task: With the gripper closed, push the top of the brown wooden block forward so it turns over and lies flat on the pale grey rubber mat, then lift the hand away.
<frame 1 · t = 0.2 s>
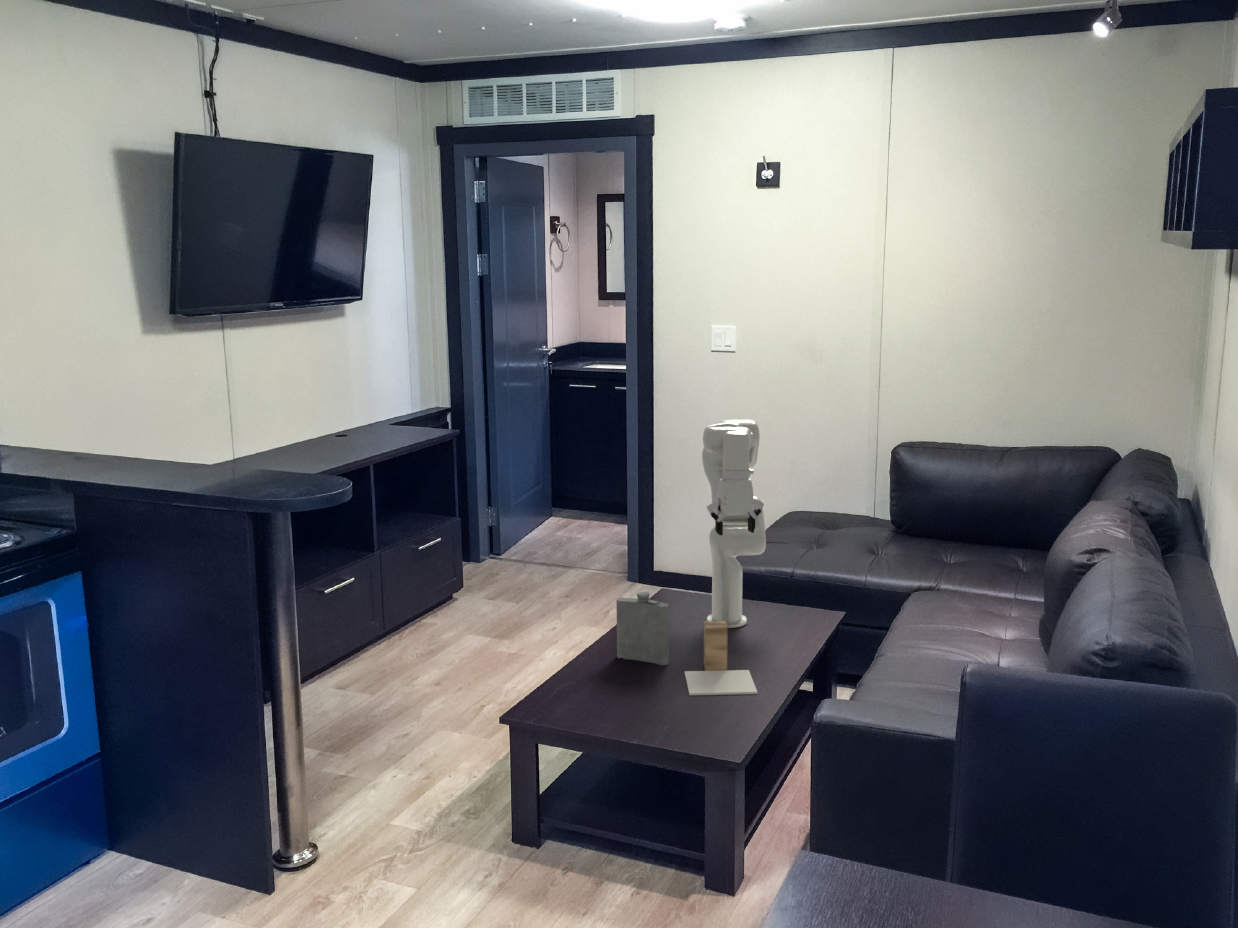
hand: (735, 533, 304), 36 cm above the table, tool pointing down, fingers open, 9 cm apart
mat: (720, 683, 287), on the table
hip flask: (643, 659, 305), on the table
brown wooden block: (715, 667, 298), on the table
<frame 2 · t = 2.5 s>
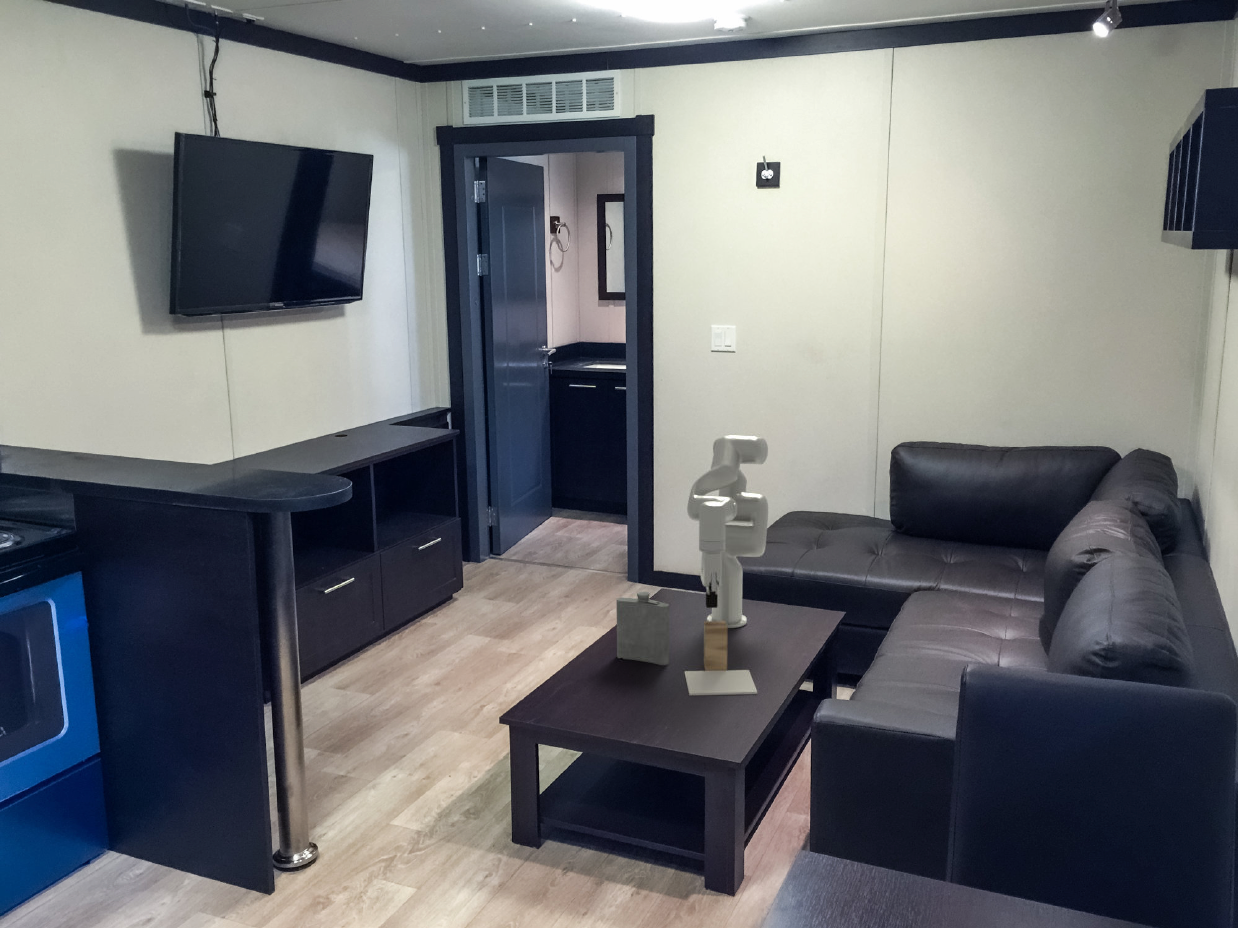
hand: (711, 606, 304), 15 cm above the table, tool pointing down, fingers closed
nothing on the table moved.
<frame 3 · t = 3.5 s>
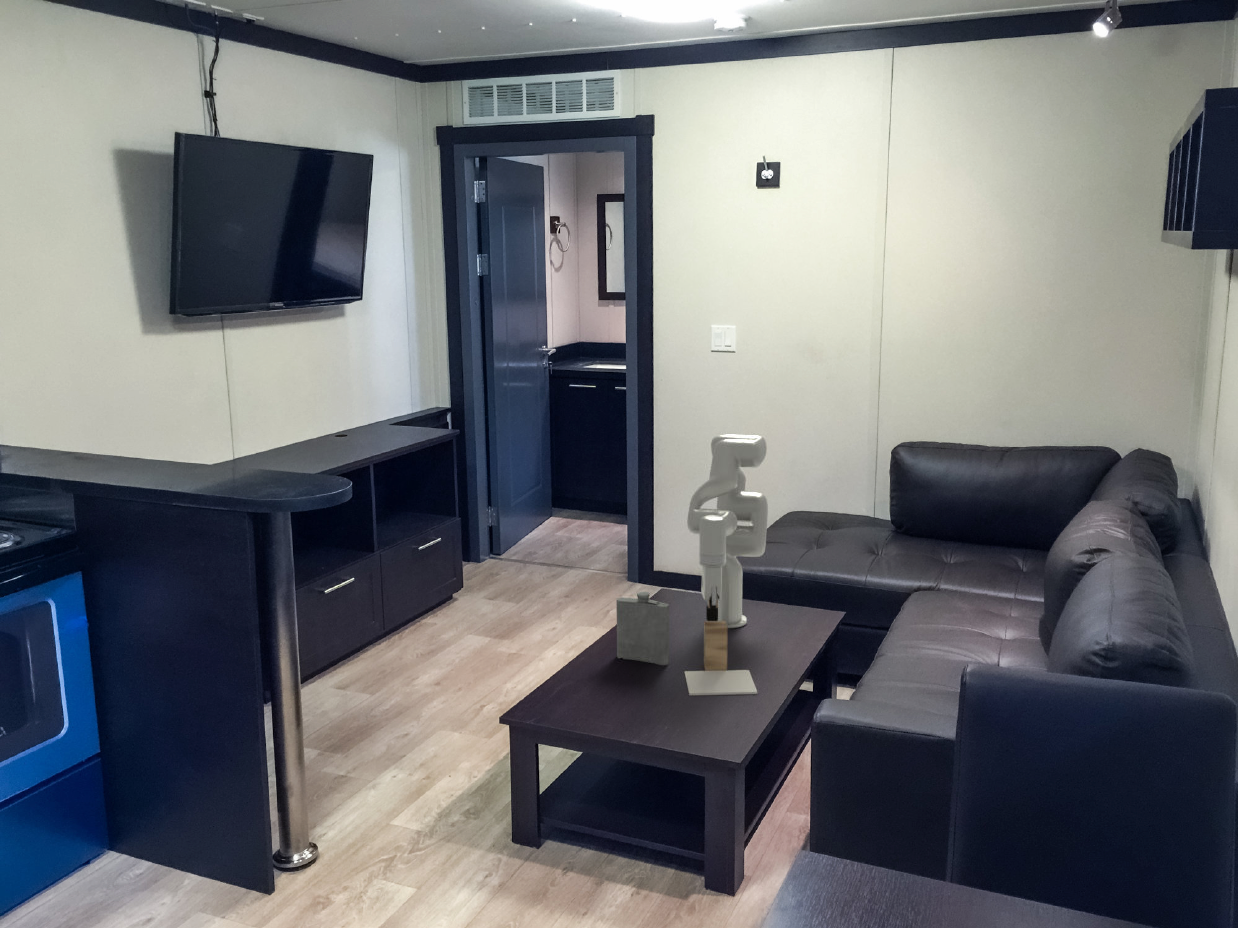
hand: (712, 619, 304), 11 cm above the table, tool pointing down, fingers closed
nothing on the table moved.
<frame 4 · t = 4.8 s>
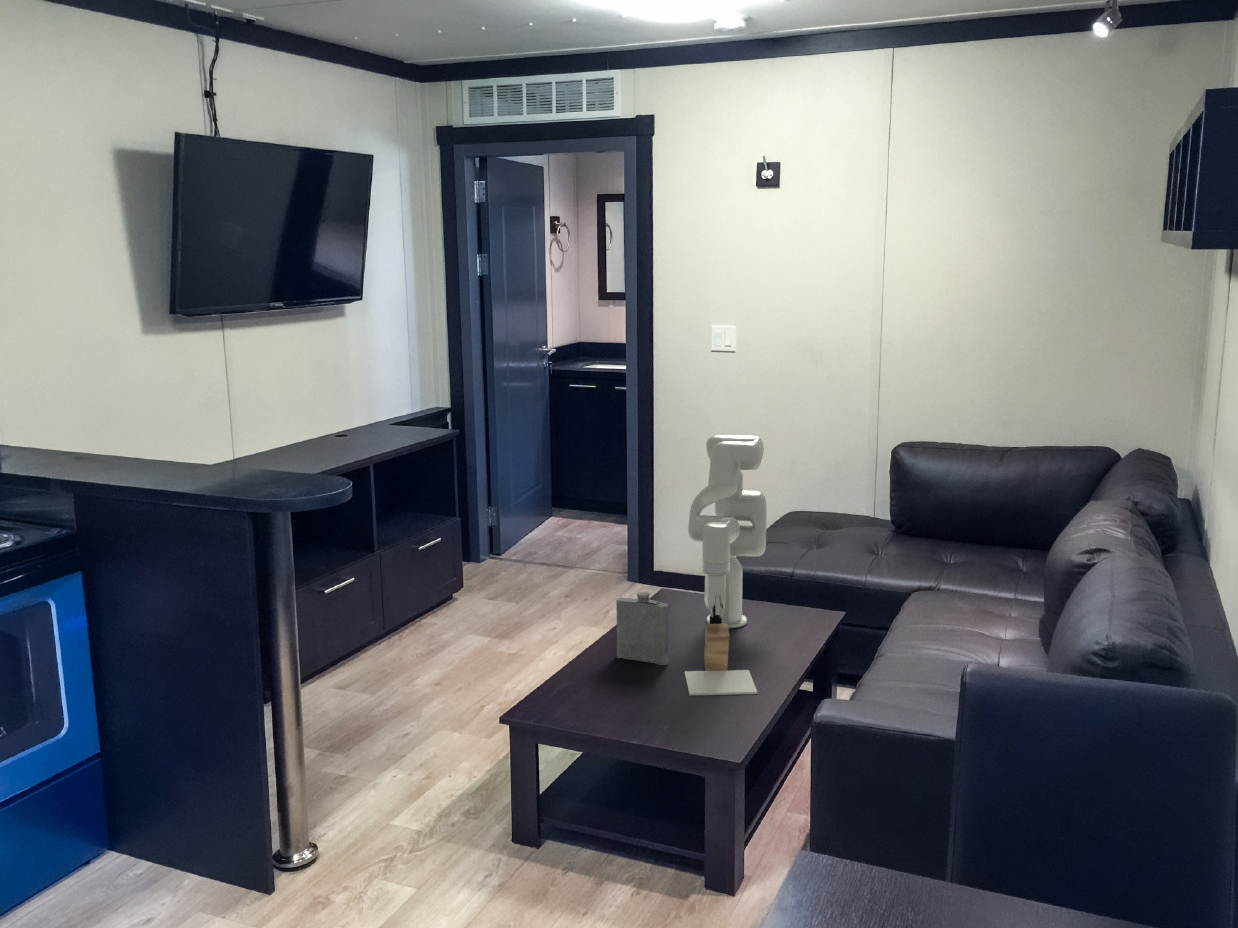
hand: (715, 629, 296), 11 cm above the table, tool pointing down, fingers closed
brown wooden block: (715, 665, 298), point 1 cm above the table, tilted 20°
everything else where it was.
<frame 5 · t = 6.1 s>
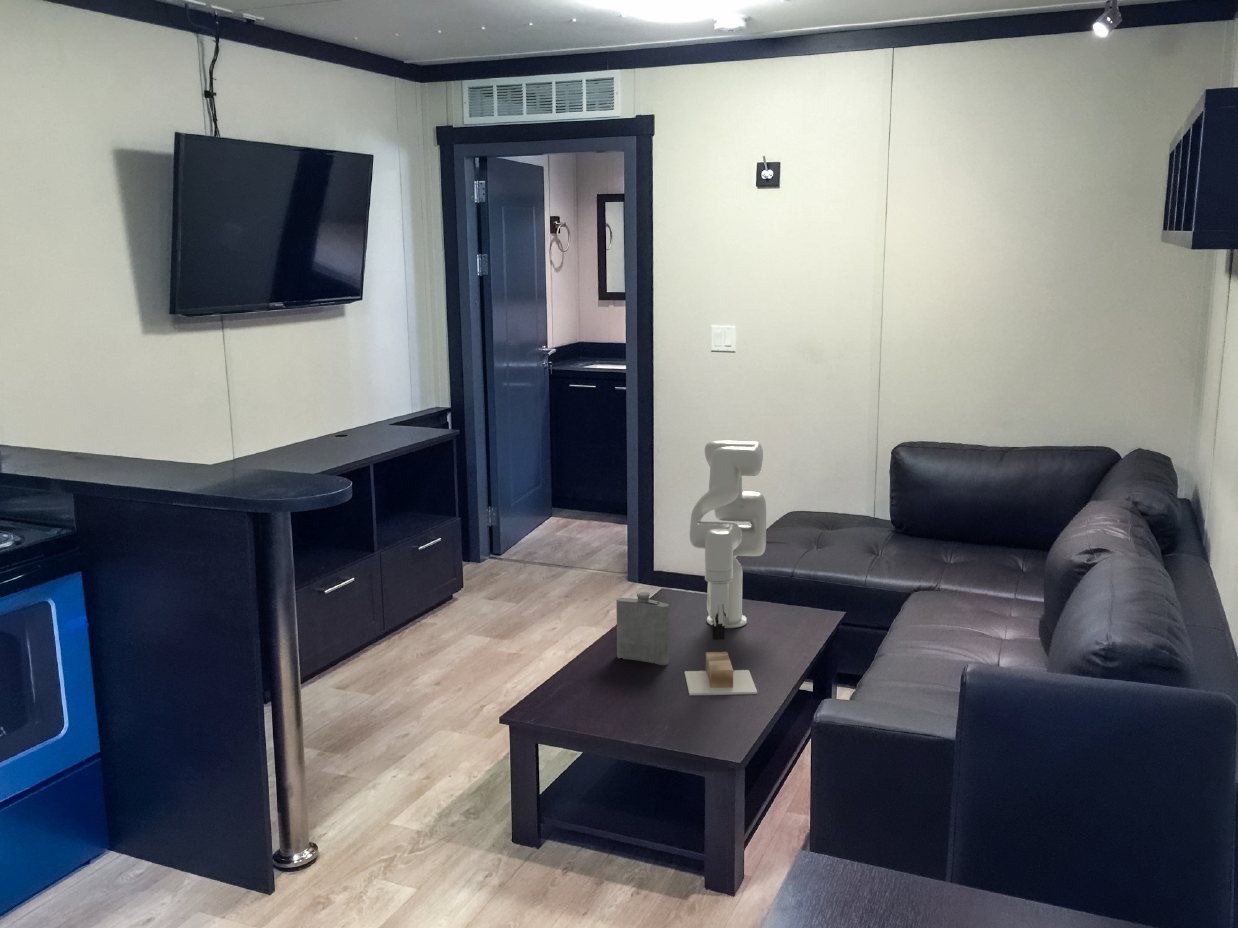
hand: (718, 638, 289), 11 cm above the table, tool pointing down, fingers closed
brown wooden block: (716, 660, 295), point 3 cm above the table, tilted 90°, touching mat
everything else where it was.
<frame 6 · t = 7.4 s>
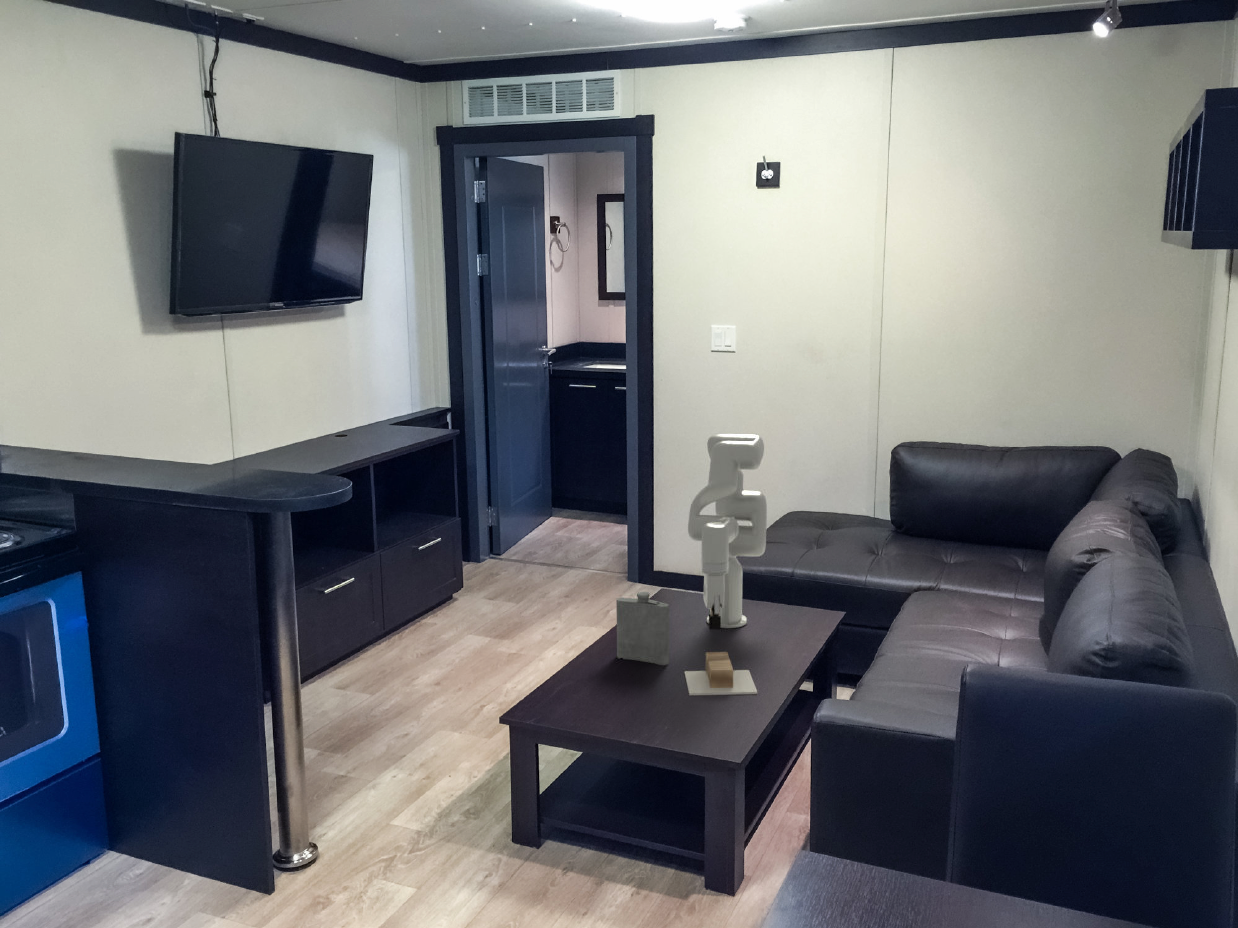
hand: (714, 628, 299), 11 cm above the table, tool pointing down, fingers closed
nothing on the table moved.
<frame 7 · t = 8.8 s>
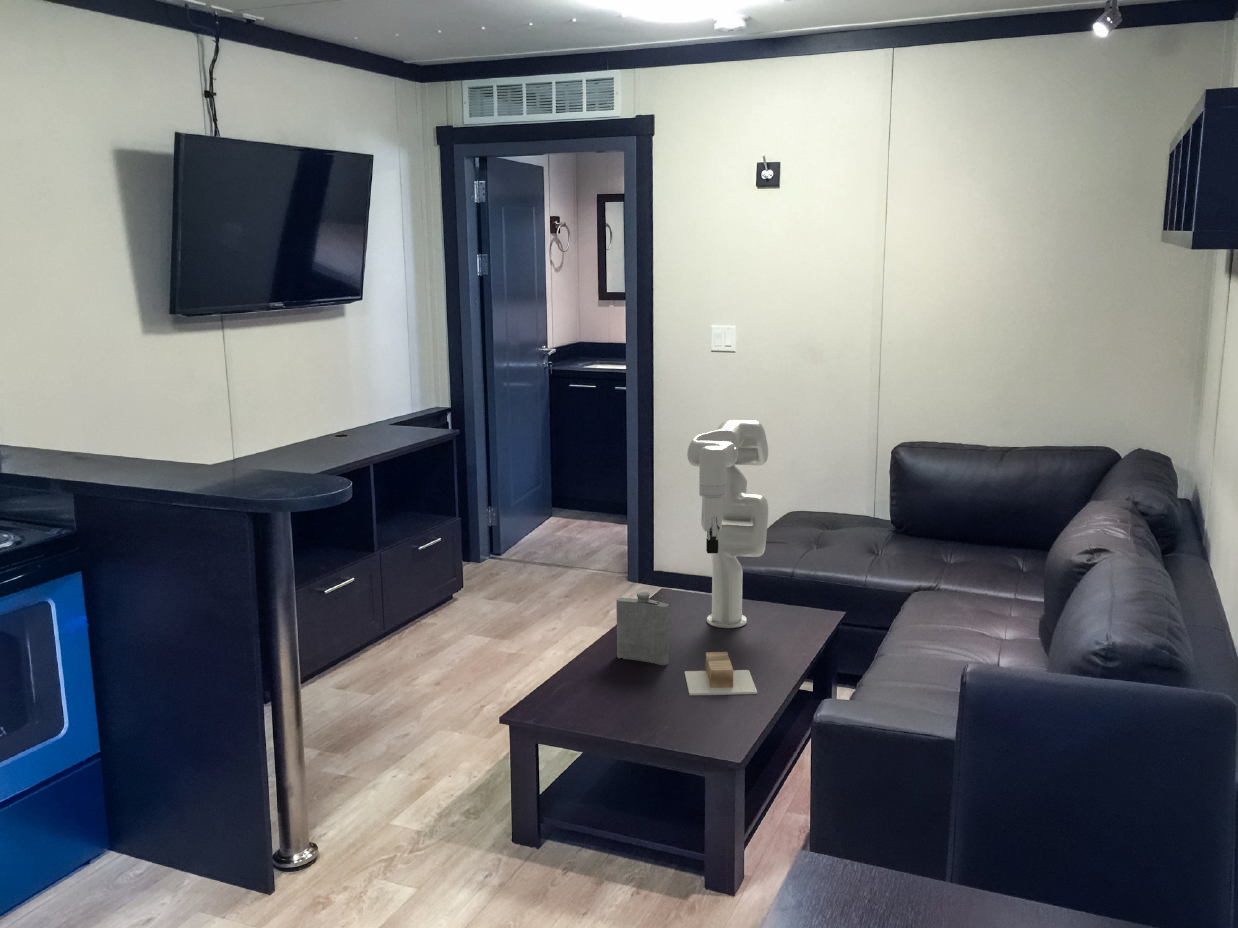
hand: (712, 552, 301), 31 cm above the table, tool pointing down, fingers closed
nothing on the table moved.
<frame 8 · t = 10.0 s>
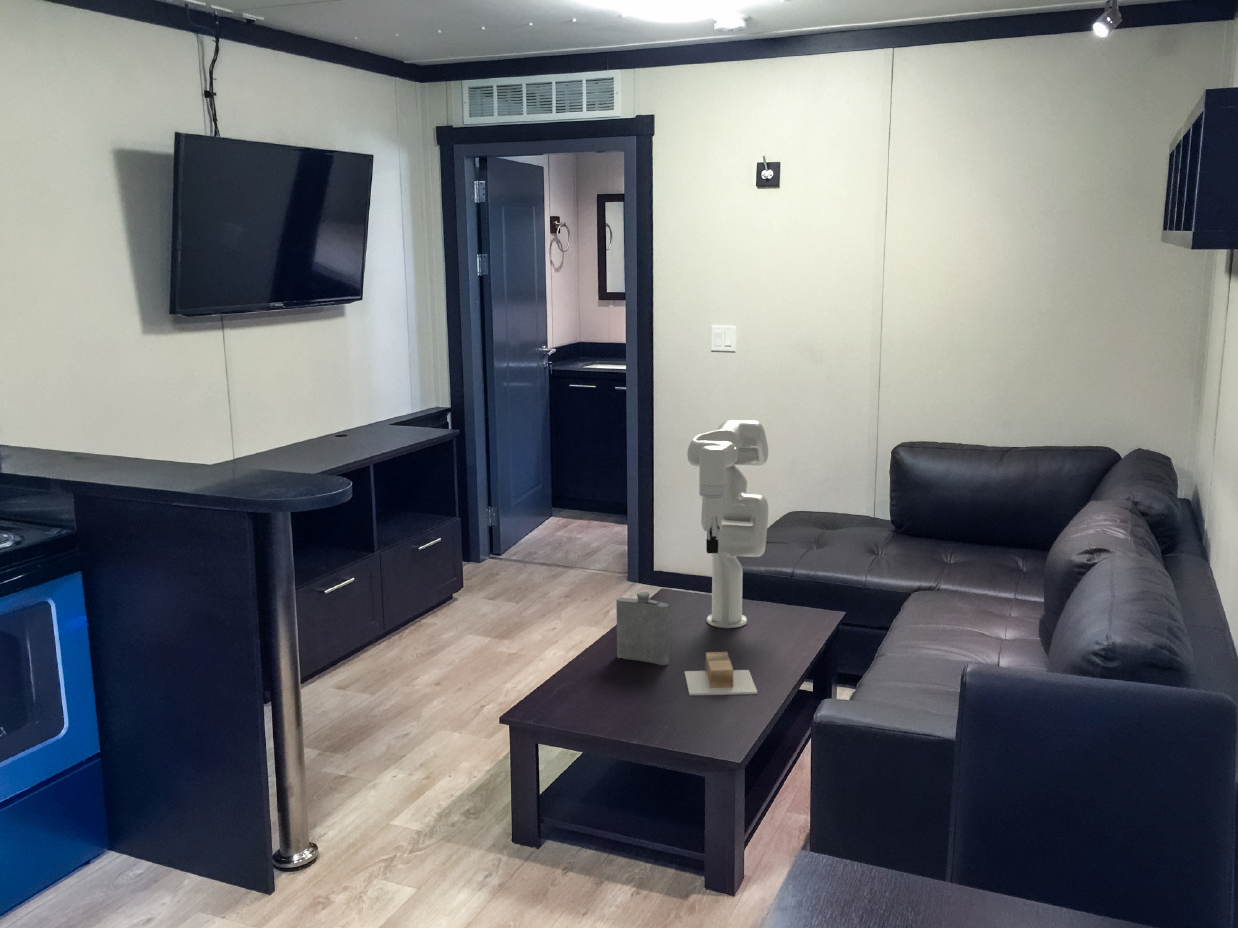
hand: (712, 552, 301), 31 cm above the table, tool pointing down, fingers closed
nothing on the table moved.
at the end: brown wooden block tilted 90°; brown wooden block inside the target area (2.7 cm from its centre), point 3.1 cm above the table; brown wooden block touching mat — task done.
